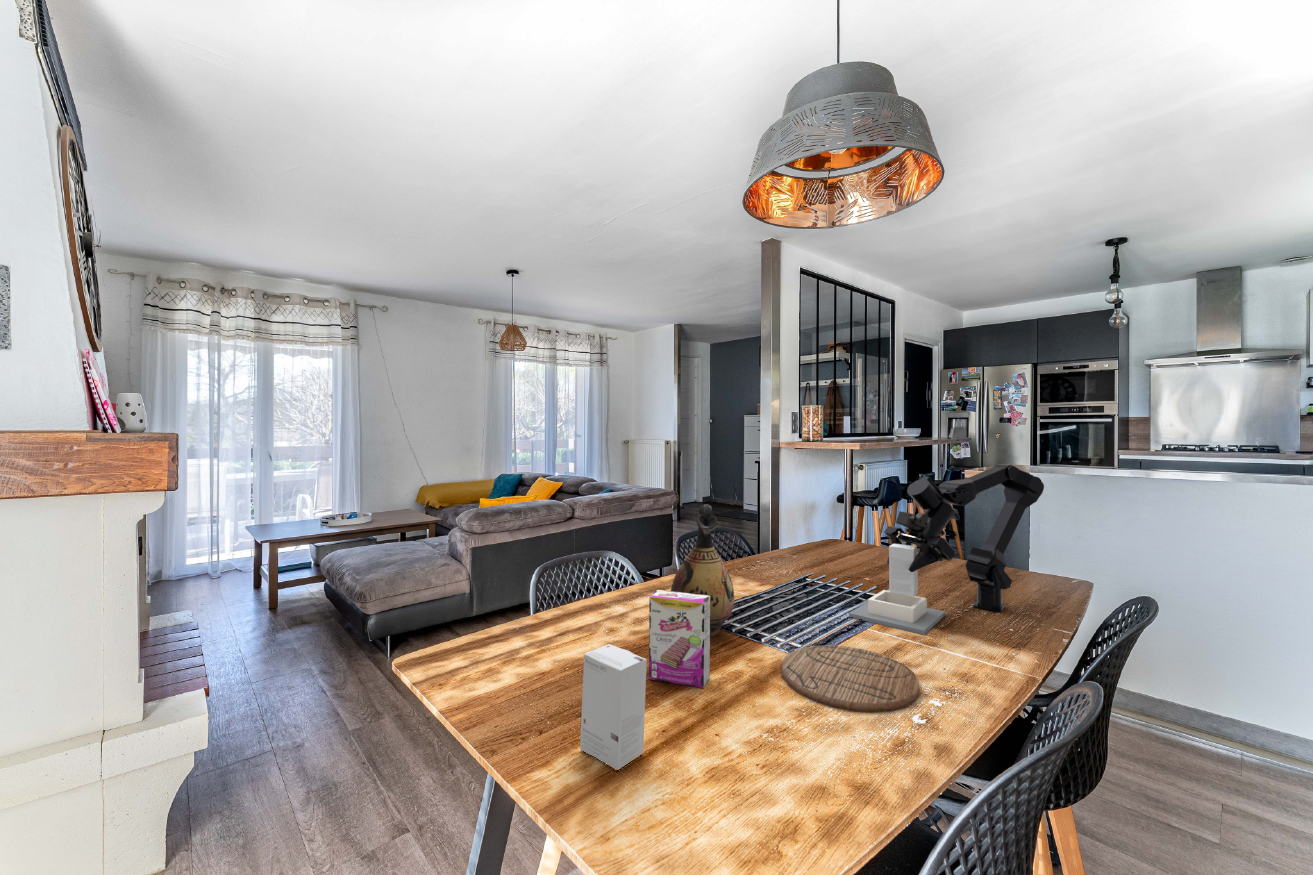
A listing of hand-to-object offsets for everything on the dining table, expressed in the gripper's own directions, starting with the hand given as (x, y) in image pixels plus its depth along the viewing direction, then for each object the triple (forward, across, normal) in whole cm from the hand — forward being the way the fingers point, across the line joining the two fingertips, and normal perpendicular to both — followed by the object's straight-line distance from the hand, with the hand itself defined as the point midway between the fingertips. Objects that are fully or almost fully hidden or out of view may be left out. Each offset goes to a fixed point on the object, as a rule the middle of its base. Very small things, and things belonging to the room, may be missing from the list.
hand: (899, 567), depth 138 cm
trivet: (+33, +24, -14) cm, 43 cm away
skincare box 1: (+67, +33, -49) cm, 90 cm away
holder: (+8, -2, +10) cm, 14 cm away
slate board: (+8, -2, +10) cm, 14 cm away
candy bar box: (+55, +14, -37) cm, 67 cm away
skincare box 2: (+4, 0, +6) cm, 7 cm away
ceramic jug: (+45, -9, -26) cm, 53 cm away
